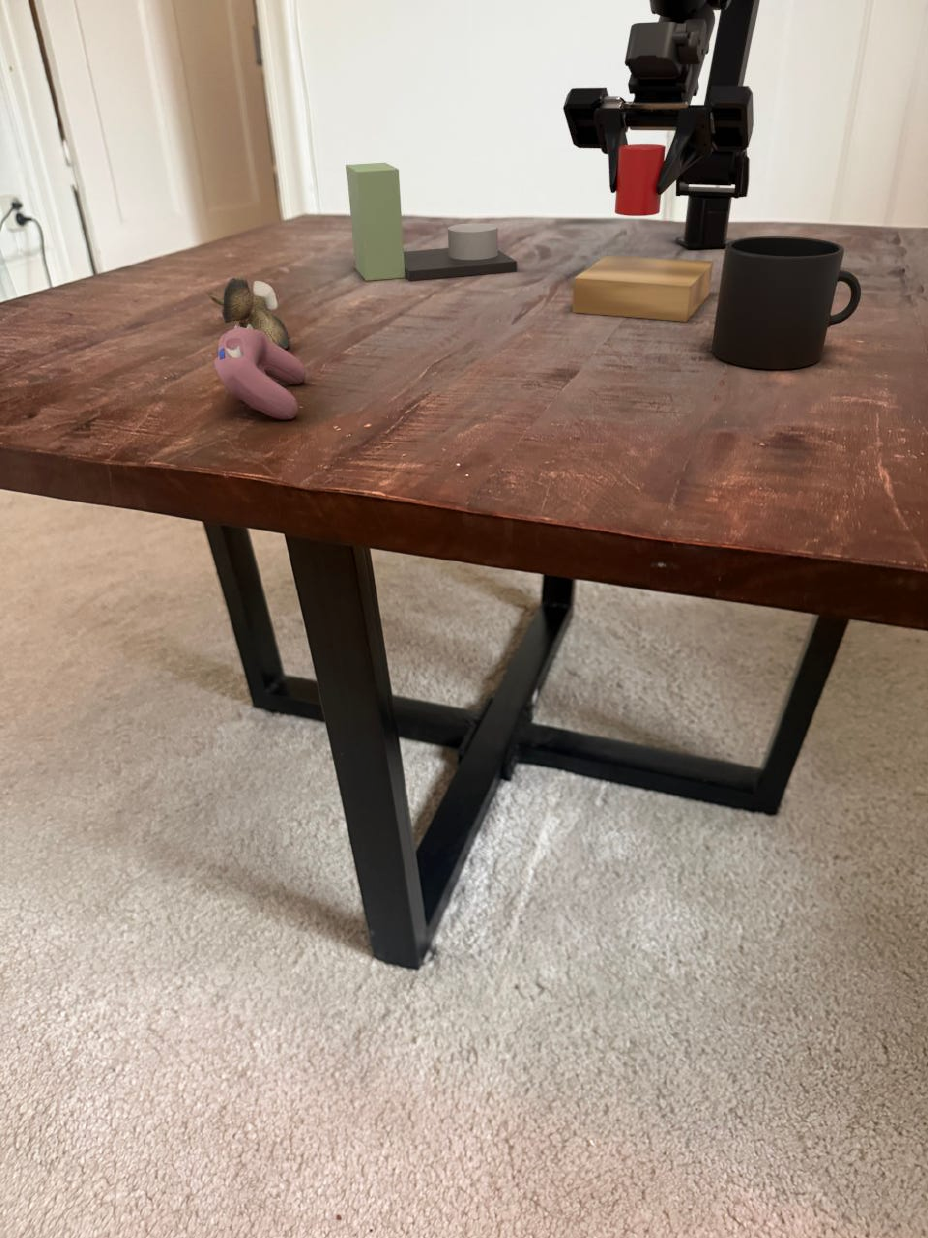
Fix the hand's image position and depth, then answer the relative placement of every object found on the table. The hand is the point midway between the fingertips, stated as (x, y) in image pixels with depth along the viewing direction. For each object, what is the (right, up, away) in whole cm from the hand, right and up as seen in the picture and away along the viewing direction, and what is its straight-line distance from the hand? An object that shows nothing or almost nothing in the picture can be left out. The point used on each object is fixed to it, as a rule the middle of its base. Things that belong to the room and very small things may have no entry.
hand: (634, 190), depth 85 cm
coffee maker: (-21, +2, +24) cm, 32 cm away
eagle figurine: (-38, -17, -3) cm, 41 cm away
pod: (+1, -1, +2) cm, 3 cm away
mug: (+11, -20, -9) cm, 24 cm away
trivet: (+2, -9, +6) cm, 11 cm away
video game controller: (-33, -26, -16) cm, 45 cm away
